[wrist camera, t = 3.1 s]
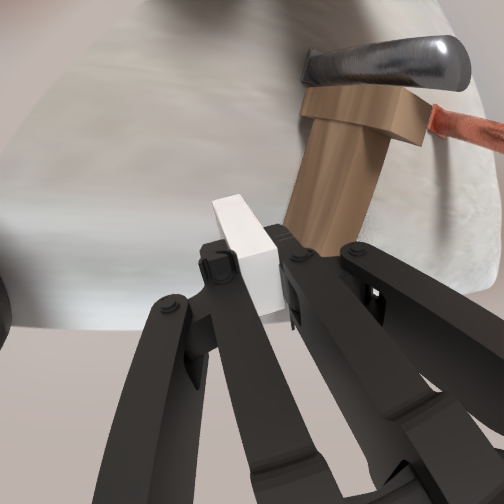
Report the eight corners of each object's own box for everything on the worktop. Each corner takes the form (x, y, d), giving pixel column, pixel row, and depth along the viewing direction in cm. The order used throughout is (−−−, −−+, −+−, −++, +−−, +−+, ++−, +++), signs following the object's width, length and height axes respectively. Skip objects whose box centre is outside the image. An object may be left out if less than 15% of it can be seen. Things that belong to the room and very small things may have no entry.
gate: (258, 248, 25) (313, 338, 16) (304, 87, 20) (404, 86, 10) (283, 251, 26) (345, 337, 16) (329, 97, 20) (435, 106, 11)
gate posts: (300, 80, 20) (429, 74, 9) (312, 38, 18) (441, 4, 7) (440, 147, 25) (545, 189, 14) (449, 115, 24) (555, 146, 13)
